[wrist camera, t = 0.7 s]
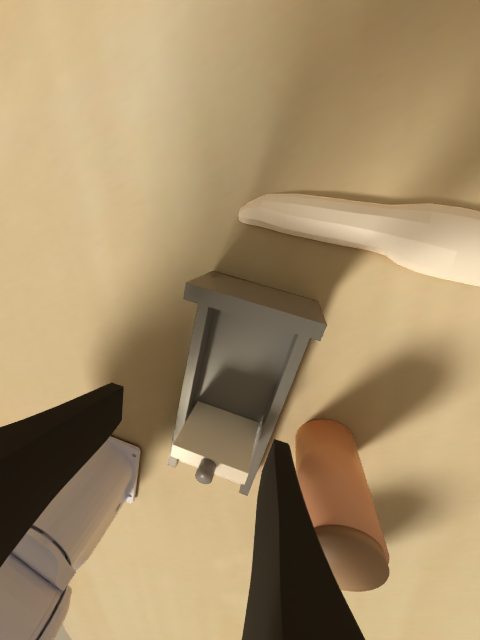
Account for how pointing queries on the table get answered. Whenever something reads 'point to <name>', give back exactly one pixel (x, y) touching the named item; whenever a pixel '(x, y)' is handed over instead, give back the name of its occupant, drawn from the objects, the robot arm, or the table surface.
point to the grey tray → (245, 353)
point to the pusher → (216, 443)
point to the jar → (341, 505)
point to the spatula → (380, 230)
